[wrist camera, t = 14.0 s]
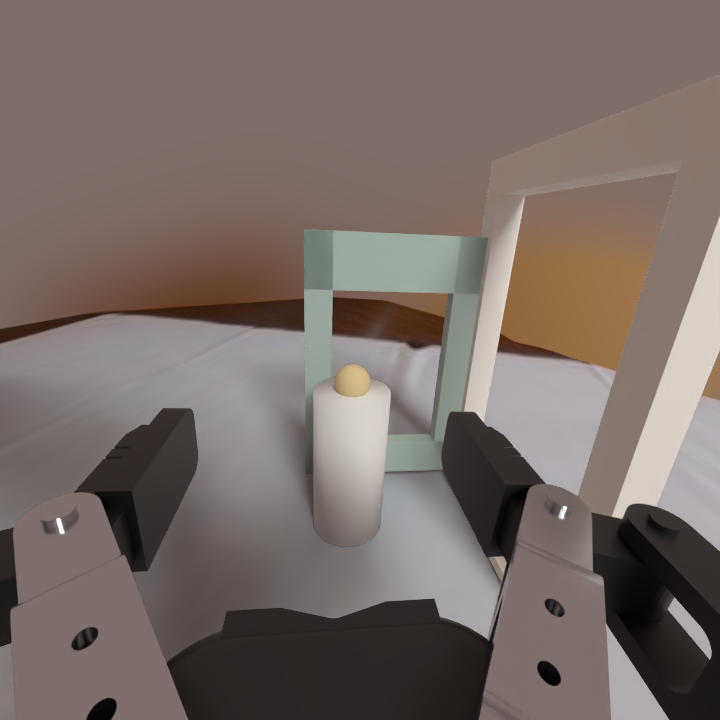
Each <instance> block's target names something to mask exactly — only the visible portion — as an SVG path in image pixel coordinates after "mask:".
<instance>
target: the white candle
mask: <svg viewBox="0 0 720 720" xmlns="http://www.w3.org/2000/svg"><path fill="white" fill-rule="evenodd" d="M390 400H391V391H390V389H389V387H388V386H386V385H385V384H384V383H382V382H380V381H378V380H375V379H372V378H370V376H369V374H368V372H367V371H366V370H365V369H364V368H363V367H361V366H359V365H355V364H350V365H346V366H344V367H342V368H341V369H340V370H339V371H338V373H337V374H336V377H331V378H328V379H325V380H323V381H321V382H319V383H318V384H316V386H315V387H314V390H313V523H314V528H315V530H316V532H317V533H318V535H319V536H320V537H321V538H322V539H323V540H325V541H327V542H328V543H330V544H333V545H336V546H341V547H354V546H358V545H362V544H364V543H366V542H368V541H369V540H371V539H372V538H373V537H374V536H375V535H376V534H377V532H378V530H379V528H380V522H381V510H382V498H383V485H384V473H385V461H386V449H387V436H388V424H389V412H390Z"/></svg>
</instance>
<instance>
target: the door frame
mask: <svg viewBox="0 0 720 720" xmlns="http://www.w3.org/2000/svg"><path fill="white" fill-rule="evenodd" d="M674 172H678V175H677V178H676V182H675V185H674V188H673V191H672V194H671V197H670V201H669V204H668V208H667V211H666V214H665V217H664V220H663V224H662V227H661V230H660V233H659V236H658V239H657V243H656V246H655V249H654V252H653V256H652V259H651V262H650V265H649V268H648V272H647V275H646V278H645V281H644V285H643V288H642V291H641V294H640V298H639V301H638V304H637V307H636V310H635V313H634V317H633V320H632V323H631V326H630V330H629V333H628V336H627V339H626V342H625V346H624V349H623V352H622V355H621V358H620V362H619V365H618V369H617V371H616V375H615V378H614V381H613V384H612V387H611V391H610V394H609V397H608V400H607V404H606V407H605V410H604V413H603V416H602V420H601V423H600V426H599V429H598V433H597V436H596V439H595V442H594V445H593V449H592V452H591V455H590V458H589V462H588V465H587V468H586V471H585V474H584V478H583V481H582V484H581V487H580V491H579V494H578V497H579V498H580V499H581V500H582V501H583V502H584V503H585V504H586V505H587V506H588V508H589V509H590V511H591V512H592V513H597V514H602V515H606V516H611V517H616V518H620V519H622V518H623V516H624V513H625V511H626V509H627V507H628V506H629V505H631V504H638V503H640V504H647V505H652V506H655V507H656V505H657V503H658V500H659V498H660V495H661V493H662V490H663V488H664V485H665V483H666V481H667V478H668V476H669V473H670V471H671V468H672V466H673V463H674V461H675V458H676V456H677V454H678V451H679V449H680V446H681V444H682V441H683V439H684V436H685V434H686V431H687V429H688V427H689V424H690V422H691V419H692V417H693V414H694V412H695V409H696V407H697V404H698V402H699V400H700V397H701V395H702V392H703V390H704V387H705V385H706V382H707V380H708V377H709V375H710V373H711V370H712V368H713V365H714V363H715V360H716V357H717V355H718V353H719V351H720V74H718V75H716V76H713V77H710V78H708V79H705V80H703V81H700V82H697V83H695V84H693V85H690V86H687V87H685V88H682V89H679V90H677V91H674V92H671V93H669V94H666V95H664V96H661V97H658V98H656V99H653V100H651V101H648V102H645V103H643V104H640V105H637V106H635V107H632V108H630V109H627V110H625V111H622V112H619V113H617V114H614V115H611V116H609V117H606V118H604V119H601V120H598V121H596V122H593V123H591V124H588V125H585V126H583V127H580V128H578V129H575V130H572V131H570V132H567V133H565V134H562V135H559V136H557V137H555V138H552V139H549V140H546V141H544V142H541V143H539V144H536V145H534V146H531V147H528V148H526V149H523V150H521V151H518V152H515V153H513V154H510V155H507V156H505V157H502V158H500V159H497V160H494V161H492V167H491V174H490V180H489V186H488V193H487V200H486V207H485V213H484V220H483V227H482V233H481V237H482V238H488V242H487V249H486V255H485V261H484V268H483V274H482V280H481V287H480V293H479V299H478V306H477V312H476V319H475V325H474V331H473V338H472V344H471V350H470V357H469V363H468V369H467V376H466V382H465V388H464V395H463V401H462V407H461V412H475V413H476V414H477V415H478V416H479V417H480V419H481V420H482V421H483V422H484V417H485V412H486V406H487V401H488V395H489V390H490V384H491V379H492V373H493V368H494V363H495V357H496V352H497V346H498V341H499V335H500V330H501V324H502V319H503V314H504V308H505V302H506V297H507V292H508V286H509V281H510V275H511V269H512V265H513V259H514V253H515V248H516V243H517V237H518V232H519V226H520V221H521V216H522V210H523V205H524V199H525V196H526V195H532V194H539V193H545V192H552V191H558V190H565V189H570V188H577V187H583V186H590V185H596V184H603V183H609V182H616V181H622V180H629V179H635V178H641V177H647V176H654V175H661V174H667V173H674ZM488 558H489V560H490V562H491V564H492V566H493V568H494V570H495V572H496V573H497V575H498V577H499V579H500V581H501V582H502V578H503V574H504V570H505V567H506V563H507V562H506V560H505V558H504V557H503V556H501V557H488ZM606 628H607V624H606Z"/></svg>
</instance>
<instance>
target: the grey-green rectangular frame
mask: <svg viewBox="0 0 720 720" xmlns="http://www.w3.org/2000/svg"><path fill="white" fill-rule="evenodd" d="M487 242H488V238H482V237H461V236H439V235H417V234H394V233H374V232H351V231H330V230H309V229H305V230H304V304H305V416H306V474H313V390H314V387H315V386H316V384H318V383H319V382H321V381H323V380H325V379H328V378H331V352H332V293H333V290H350V291H387V292H424V293H448V297H447V305H446V313H445V320H444V328H443V336H442V344H441V352H440V360H439V368H438V375H437V383H436V391H435V399H434V407H433V415H432V423H431V430H430V434H401V435H388V436H387V449H386V461H385V472H389V471H422V470H443V467H442V461H441V452H442V446H443V441H444V435H445V430H446V424H447V419H448V415H449V413H450V412H452V411H455V412H461V407H462V401H463V395H464V388H465V382H466V376H467V369H468V363H469V357H470V350H471V344H472V338H473V331H474V325H475V319H476V312H477V306H478V299H479V293H480V287H481V280H482V274H483V268H484V261H485V255H486V249H487Z"/></svg>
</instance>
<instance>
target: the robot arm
mask: <svg viewBox="0 0 720 720" xmlns="http://www.w3.org/2000/svg"><path fill="white" fill-rule="evenodd" d="M441 461H442V467H443V470H444V473H445V475H446V477H447V479H448V481H449V483H450V485H451V487H452V489H453V491H454V493H455V495H456V497H457V499H458V501H459V503H460V505H461V507H462V509H463V511H464V513H465V515H466V517H467V519H468V521H469V523H470V525H471V527H472V529H473V531H474V533H475V535H476V537H477V539H478V541H479V543H480V545H481V547H482V549H483V551H484V553H485V555H486V557H501V556H503V557H504V558H505V560H506V562H507V563H506V567H505V570H504V574H503V578H502V582H501V586H500V590H499V594H498V598H497V602H496V606H495V610H494V614H493V618H492V622H491V626H490V630H489V634H488V638H487V639H486V638H485V637H483V636H482V635H480V634H479V633H477V632H475V631H474V630H472V629H470V628H468V627H466V626H464V625H462V624H460V623H458V622H455V621H452V620H449V619H446V618H441V617H440V616H439V613H438V609H437V606H436V603H435V600H434V599H422V600H405V601H388V602H384V603H381V604H378V605H375V606H372V607H369V608H366V609H363V610H360V611H357V612H355V613H352V614H349V615H346V616H343V617H340V618H326V617H322V616H317V615H312V614H307V613H303V612H298V611H293V610H288V609H283V608H271V609H254V610H237V611H227V613H226V617H225V621H224V625H223V630H222V631H221V632H218V633H215V634H212V635H210V636H208V637H206V638H204V639H202V640H199V641H198V642H196V643H194V644H193V645H191V646H189V647H187V648H186V649H184V650H183V651H181V652H180V653H179V654H177V655H176V656H174V657H173V658H172V659H170V660H169V661H168V662H167V663H166V661H165V658H164V656H163V653H162V650H161V648H160V645H159V643H158V640H157V637H156V635H155V632H154V629H153V627H152V624H151V622H150V619H149V616H148V614H147V611H146V609H145V606H144V603H143V601H142V598H141V596H140V593H139V590H138V588H137V585H136V582H135V580H134V577H133V575H132V572H137V571H148V569H149V567H150V565H151V563H152V561H153V559H154V557H155V554H156V552H157V550H158V548H159V546H160V544H161V542H162V540H163V538H164V536H165V534H166V532H167V530H168V528H169V526H170V523H171V521H172V519H173V517H174V515H175V513H176V511H177V509H178V507H179V505H180V503H181V501H182V499H183V497H184V495H185V493H186V490H187V488H188V486H189V484H190V482H191V480H192V478H193V476H194V474H195V471H196V467H197V462H198V449H197V440H196V431H195V421H194V414H193V411H192V409H190V408H163V409H162V410H161V411H160V412H159V413H158V415H157V416H156V417H155V418H154V419H153V421H152V422H151V423H150V424H149V425H141V426H139V427H138V428H136V429H134V430H133V431H131V432H129V433H128V434H126V435H125V436H124V437H123V438H122V439H121V440H120V441H119V443H118V444H117V445H116V446H115V449H112V450H111V452H110V453H109V454H108V455H107V456H106V459H103V461H102V462H101V463H100V464H99V465H98V466H97V467H96V468H95V469H94V471H93V472H92V473H91V474H90V475H89V476H88V477H87V478H86V480H85V481H84V482H83V483H82V484H81V485H80V486H79V487H78V489H77V490H76V491H75V492H74V493H70V494H66V495H62V496H59V497H55V498H53V499H50V500H48V501H46V502H44V503H42V504H40V505H38V506H36V507H35V508H33V509H32V510H30V511H29V512H28V513H26V514H25V515H24V516H23V517H22V518H21V519H20V520H19V521H18V523H17V524H16V526H15V527H14V528H11V529H6V530H2V531H0V647H1V646H4V645H7V644H10V643H12V657H13V675H14V693H15V712H16V720H611V711H610V691H609V672H608V652H607V633H606V624H607V626H608V627H609V629H610V630H611V632H612V633H613V635H614V636H615V638H616V639H617V641H618V642H619V644H620V645H621V647H622V648H623V650H624V651H625V653H626V654H627V656H628V657H629V659H630V661H631V662H632V664H633V665H634V667H635V668H636V670H637V671H638V673H639V674H640V676H641V677H642V679H643V680H644V682H645V683H646V685H647V686H648V688H649V689H650V691H651V692H652V694H653V696H654V697H655V699H656V700H657V702H658V703H659V705H660V706H661V708H662V709H663V711H664V712H665V714H666V715H667V717H668V718H669V720H720V551H719V550H717V549H716V548H715V547H714V546H713V545H712V544H711V543H709V542H708V541H707V540H706V539H705V538H704V537H703V536H701V535H700V534H699V533H698V532H697V531H696V530H695V529H693V528H692V527H691V526H690V525H689V524H687V523H686V522H685V521H683V520H682V519H680V518H679V517H677V516H675V515H674V514H672V513H670V512H668V511H666V510H663V509H661V508H658V507H655V506H652V505H647V504H640V503H638V504H631V505H629V506H628V507H627V509H626V511H625V513H624V516H623V518H622V519H620V518H616V517H611V516H606V515H602V514H597V513H592V512H591V511H590V509H589V508H588V506H587V505H586V504H585V503H584V502H583V501H582V500H581V499H580V498H579V497H577V496H576V495H574V494H573V493H571V492H569V491H567V490H565V489H563V488H560V487H557V486H554V485H549V484H545V482H544V481H543V480H542V479H541V478H540V477H539V475H538V474H537V473H536V472H535V471H534V470H533V468H532V467H531V466H530V465H529V464H528V463H527V461H526V460H525V459H524V458H523V457H521V454H520V453H519V452H518V451H517V450H516V449H515V448H513V445H512V444H511V443H510V442H509V441H508V439H507V438H506V437H505V436H504V435H502V434H501V433H499V432H498V431H496V430H495V429H493V428H492V427H487V426H486V425H485V424H484V422H483V421H482V420H481V419H480V417H479V416H478V415H477V414H476V413H475V412H455V411H452V412H450V413H449V415H448V419H447V424H446V430H445V435H444V441H443V446H442V452H441ZM674 597H675V598H676V599H677V600H678V601H679V603H680V604H681V605H682V606H683V607H684V608H685V609H686V610H687V612H688V613H689V614H690V615H691V616H692V617H693V618H694V620H695V621H696V622H697V623H698V624H699V625H700V626H701V628H702V629H703V630H704V632H705V633H706V635H707V637H708V639H709V642H710V645H711V650H712V656H711V659H710V660H709V658H708V657H707V656H706V655H705V654H704V652H703V651H702V650H701V649H700V648H699V647H698V645H697V644H696V643H695V642H694V641H693V639H692V638H691V637H690V636H689V635H688V633H687V632H686V631H685V630H684V629H683V627H682V626H681V625H680V624H679V623H678V621H677V620H676V619H675V618H674V617H673V616H672V614H671V613H670V612H669V611H668V610H667V609H668V607H669V606H670V604H671V602H672V600H673V598H674Z"/></svg>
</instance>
